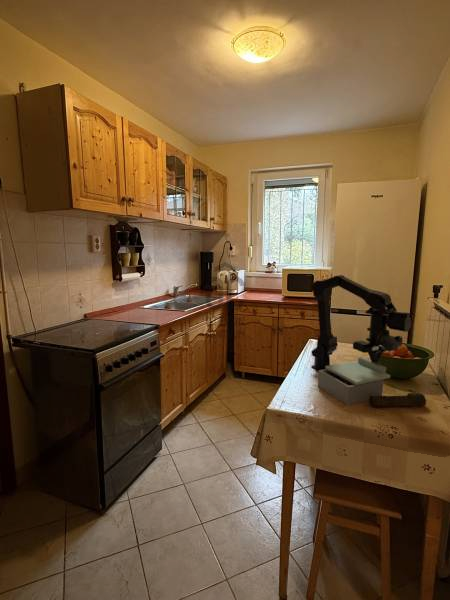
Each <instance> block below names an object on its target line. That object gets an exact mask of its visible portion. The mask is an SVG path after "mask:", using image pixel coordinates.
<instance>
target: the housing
mask: <svg viewBox="0 0 450 600" xmlns="http://www.w3.org/2000/svg"><path fill="white" fill-rule="evenodd" d="M317 377H318V379H317V387H318V388H320V389H321V390H323V391H324V392H327V394H329V395H331V396H333V397H334V398H336V399H337V400H339V401H341V402H342V403H344V404H345V405H347V406H350V405H353V404H358V403H361V402H365V401H369V397H370V395H372V396H383V388H384V379H382V380H377V381H373V382H368V383H363V384H359V385H350V386H349V385H347V384H345V383H343V382H344V378H342V377H340V376H338V375H337V374H335V373H333V372H331V371H329V370H327V369H324V370H319V371H318V374H317Z"/></svg>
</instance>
